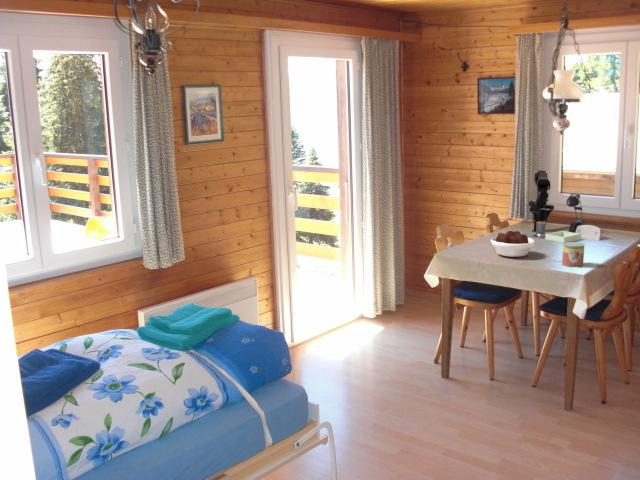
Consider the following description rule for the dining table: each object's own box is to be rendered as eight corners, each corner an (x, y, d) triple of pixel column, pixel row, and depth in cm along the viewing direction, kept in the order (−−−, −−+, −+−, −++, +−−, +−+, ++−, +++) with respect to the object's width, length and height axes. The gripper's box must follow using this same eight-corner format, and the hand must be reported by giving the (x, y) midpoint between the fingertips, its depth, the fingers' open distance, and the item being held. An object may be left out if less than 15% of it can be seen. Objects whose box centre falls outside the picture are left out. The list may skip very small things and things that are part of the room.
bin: (562, 236, 480) (562, 230, 479) (580, 240, 469) (581, 233, 468) (545, 240, 469) (545, 234, 468) (563, 243, 458) (564, 237, 457)
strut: (539, 232, 483) (540, 220, 481) (545, 233, 480) (545, 221, 478) (536, 233, 480) (536, 221, 479) (541, 234, 477) (541, 222, 476)
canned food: (563, 267, 398) (564, 245, 396) (560, 262, 409) (561, 241, 407) (584, 267, 396) (586, 246, 394) (581, 263, 407) (582, 242, 405)
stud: (538, 234, 487) (539, 231, 486) (550, 236, 479) (550, 233, 479) (530, 236, 481) (530, 233, 481) (541, 238, 474) (541, 235, 474)
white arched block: (573, 238, 475) (575, 223, 476) (574, 239, 479) (577, 224, 480) (599, 240, 466) (601, 225, 467) (601, 242, 470) (603, 227, 470)
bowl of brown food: (501, 249, 444) (502, 225, 441) (540, 254, 429) (542, 229, 426) (482, 256, 425) (483, 231, 422) (523, 262, 410) (524, 236, 407)
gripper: (541, 195, 487) (539, 217, 490) (523, 197, 476) (522, 221, 479) (555, 196, 478) (553, 220, 481) (537, 199, 467) (536, 223, 471)
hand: (541, 221), depth 478 cm, fingers open, 9 cm apart
